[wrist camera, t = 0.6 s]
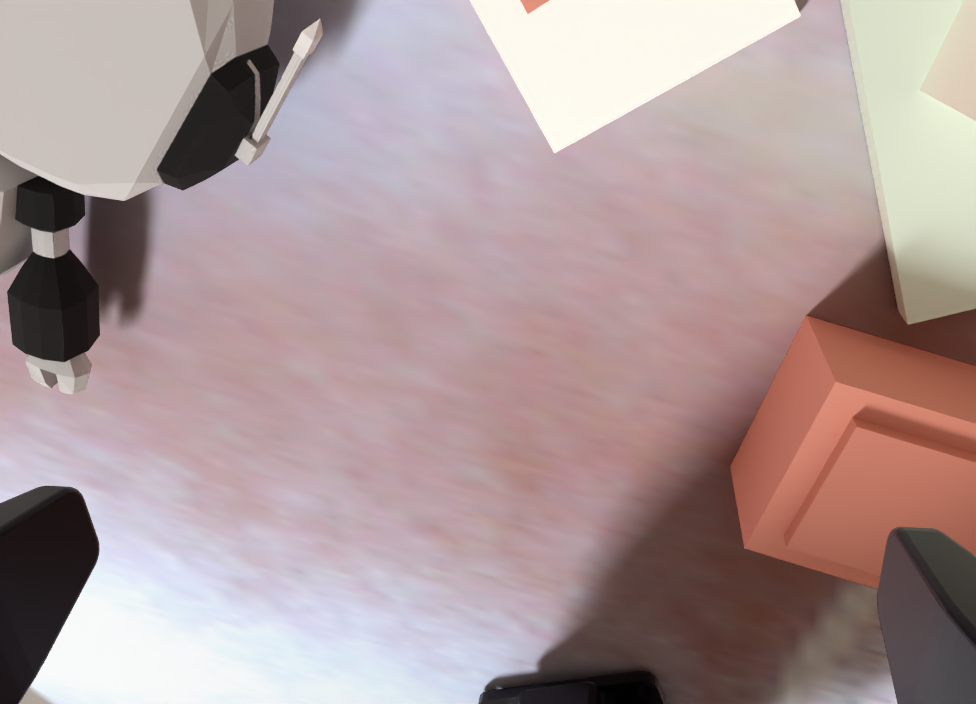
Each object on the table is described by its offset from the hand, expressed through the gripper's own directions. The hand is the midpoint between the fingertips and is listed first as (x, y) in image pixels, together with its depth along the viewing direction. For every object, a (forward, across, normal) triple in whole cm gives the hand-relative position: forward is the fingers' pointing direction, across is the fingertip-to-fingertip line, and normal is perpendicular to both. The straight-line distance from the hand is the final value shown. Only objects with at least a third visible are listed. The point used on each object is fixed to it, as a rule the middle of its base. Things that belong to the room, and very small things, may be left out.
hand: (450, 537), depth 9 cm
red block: (+13, -8, +6) cm, 16 cm away
